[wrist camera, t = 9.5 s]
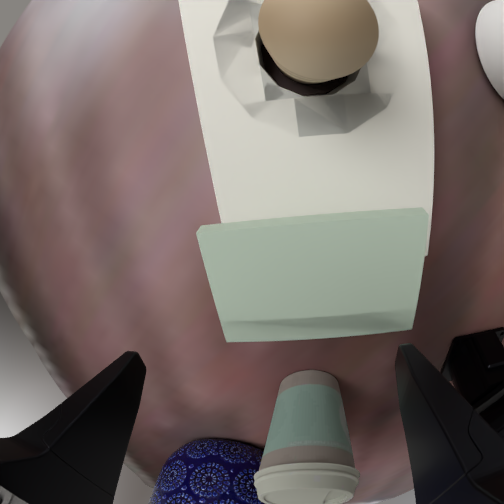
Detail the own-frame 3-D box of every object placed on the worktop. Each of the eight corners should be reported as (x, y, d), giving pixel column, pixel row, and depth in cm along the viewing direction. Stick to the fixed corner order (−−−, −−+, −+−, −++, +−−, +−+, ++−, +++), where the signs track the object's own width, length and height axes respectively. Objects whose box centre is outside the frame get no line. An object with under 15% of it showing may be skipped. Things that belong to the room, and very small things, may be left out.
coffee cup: (316, 416, 31) (314, 513, 21) (250, 392, 30) (232, 499, 19) (370, 378, 27) (383, 491, 17) (298, 347, 26) (292, 479, 15)
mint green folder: (384, 260, 21) (411, 329, 15) (244, 271, 22) (226, 342, 16) (386, 170, 18) (428, 214, 12) (227, 184, 19) (196, 233, 13)
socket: (412, 233, 19) (427, 255, 17) (239, 247, 22) (232, 271, 19) (393, -15, 12) (409, -29, 9) (193, 2, 14) (176, -10, 11)
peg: (347, 82, 15) (386, 78, 8) (278, 87, 16) (268, 84, 9) (337, 19, 14) (366, -26, 7) (267, 25, 14) (249, -19, 7)
